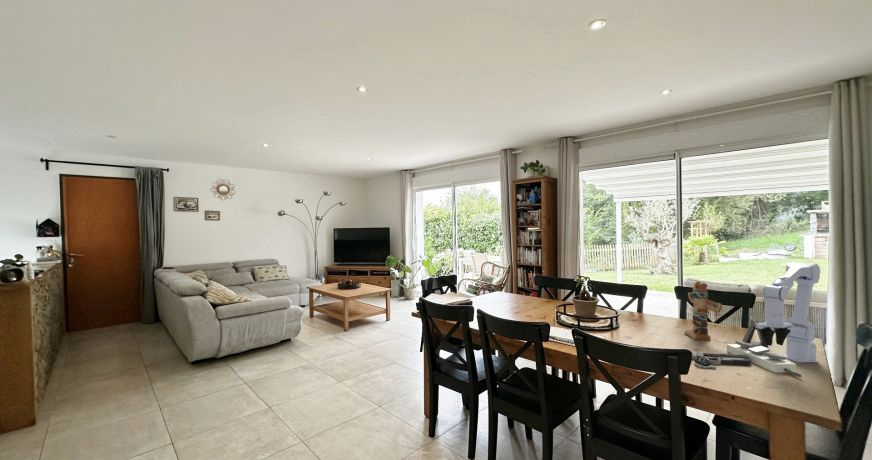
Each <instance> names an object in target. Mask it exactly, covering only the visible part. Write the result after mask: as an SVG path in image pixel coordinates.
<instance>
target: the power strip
mask: <svg viewBox="0 0 872 460" xmlns="http://www.w3.org/2000/svg"><path fill="white" fill-rule="evenodd" d="M748 349H749V347H743V346H740V345H738V344H735V343H734V344H733V343H731V344H729V343H727V344H726V352H727V353H728V354H741V355H746V356H748V357H749V358H750V359H751V364H755V365H757V366H759V367H762V368H763V369H765V370H768V371H770V372H772V373H789V374H791V375H793V376H796V377H798V378H802V374H801V373H799V372H797V364H796V363H794V362H793V361H791V360H790V361H789V360H787V359H785V360H780V359H774V358H770V357H768V356H765V355H763V353H761V354H755V353H752V352H750V351H749V350H748Z"/></svg>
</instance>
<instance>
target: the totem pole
mask: <svg viewBox="0 0 872 460" xmlns="http://www.w3.org/2000/svg"><path fill="white" fill-rule="evenodd" d="M707 288H708V284H707V283H702V282H701V281H698V280H697V281H695V282H694V285H693V288H692V292H690V291H689V292H687V295H688V299H689V301H690V303H692V304H693V311H692V313H693V314H692V317H691V318H692V321H691V322H692V325H693V327H692V329H686V330H684V335H686V336H688V337H690V338H692V339H693V340H695V341H706V342H707V341H708V342H710V341H711V340H712V339H711V335H710V334H709V330H708V326H709V323H708V321H709V320H708V319H709V317H708V316H709V315H708V313H709V311H711V312H713V313H720V312H721V311H722V307H723V304H722V303H720V302H716V301H713V300H709V296H708V295H709V292H708V289H707Z"/></svg>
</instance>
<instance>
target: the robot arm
mask: <svg viewBox="0 0 872 460" xmlns="http://www.w3.org/2000/svg"><path fill="white" fill-rule="evenodd" d="M820 275H821V268H820V266H819V265H818V263H807V262H795V261H794V262H793V261H789V262H788V263H787V264H786V266H785V273H784V275H783V276H781V275H780V276H778V277H777V278H776V279H775V280H774V281H773V282H772V283H771V284H768V285H765V286H764V287H763V288H762V296H763V301H764V303H765V321H762V322H759V323H757V322H756V323H755V325H756V328H759V330H760V331H761V333H762V335H763V337H764V340H765V343H766V344H767V345H768V346H769V347H770V346H772V345H773V340H774V336H775V343H776V345H779V346H783V345H784V342H785V340H786V354H781V355H780V356H783V357H785V359H788V360H790V361H792V362H796V363H819V361H818V360H817V346H816V344H815V343H814V342H813V341H814V340H815V338H816V326H815V325H814V324H813V323H812V322H811V321H810V320H808V318H809V317H808V316H809V312H810V311H809V310H810V306H811V305H810V304H811V299H812V293H813V287H814V285H815V284H819V280H820V277H821V276H820ZM794 282H796V284H797V287H796V293H795V298H794V304H793V309H792V310H793V311H792V314H791V315H792V316H791V317H788V318H785V300H787V297H788V295H789V293H790V292H789V291H790V290H791V289H792V288H793V287H794V284H795V283H794ZM784 318H785V319H784ZM772 329H773V330H772Z"/></svg>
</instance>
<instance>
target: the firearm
mask: <svg viewBox="0 0 872 460" xmlns="http://www.w3.org/2000/svg"><path fill="white" fill-rule="evenodd" d="M692 355H693V359H692V360H694V365H695V367H697V368H701V369H712V370H716V369H717V367H716V365H717V366H719V365H729V366H731V365H732V366H736V365H737V366H748V367H750V366H751V365H752V362H751V359H750V358H749V357H748V356H746V355H741V354H731V353H710V352H709V353H708V352H702V351H696V354H692Z"/></svg>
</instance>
